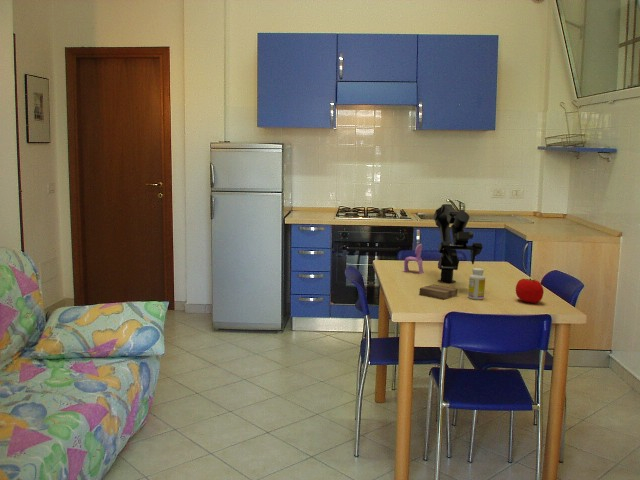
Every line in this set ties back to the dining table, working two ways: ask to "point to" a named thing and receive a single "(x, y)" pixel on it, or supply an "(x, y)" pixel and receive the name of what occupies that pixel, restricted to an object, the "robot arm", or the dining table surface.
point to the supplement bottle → (476, 284)
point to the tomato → (529, 290)
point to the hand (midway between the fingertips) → (462, 263)
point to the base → (438, 291)
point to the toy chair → (417, 259)
